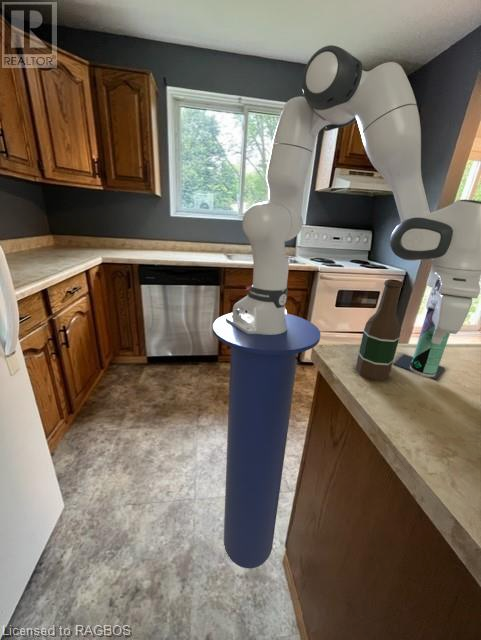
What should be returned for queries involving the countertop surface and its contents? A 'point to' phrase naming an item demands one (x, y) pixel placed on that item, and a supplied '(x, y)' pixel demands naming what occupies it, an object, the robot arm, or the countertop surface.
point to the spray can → (428, 347)
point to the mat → (406, 362)
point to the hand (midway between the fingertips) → (433, 337)
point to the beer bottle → (381, 335)
